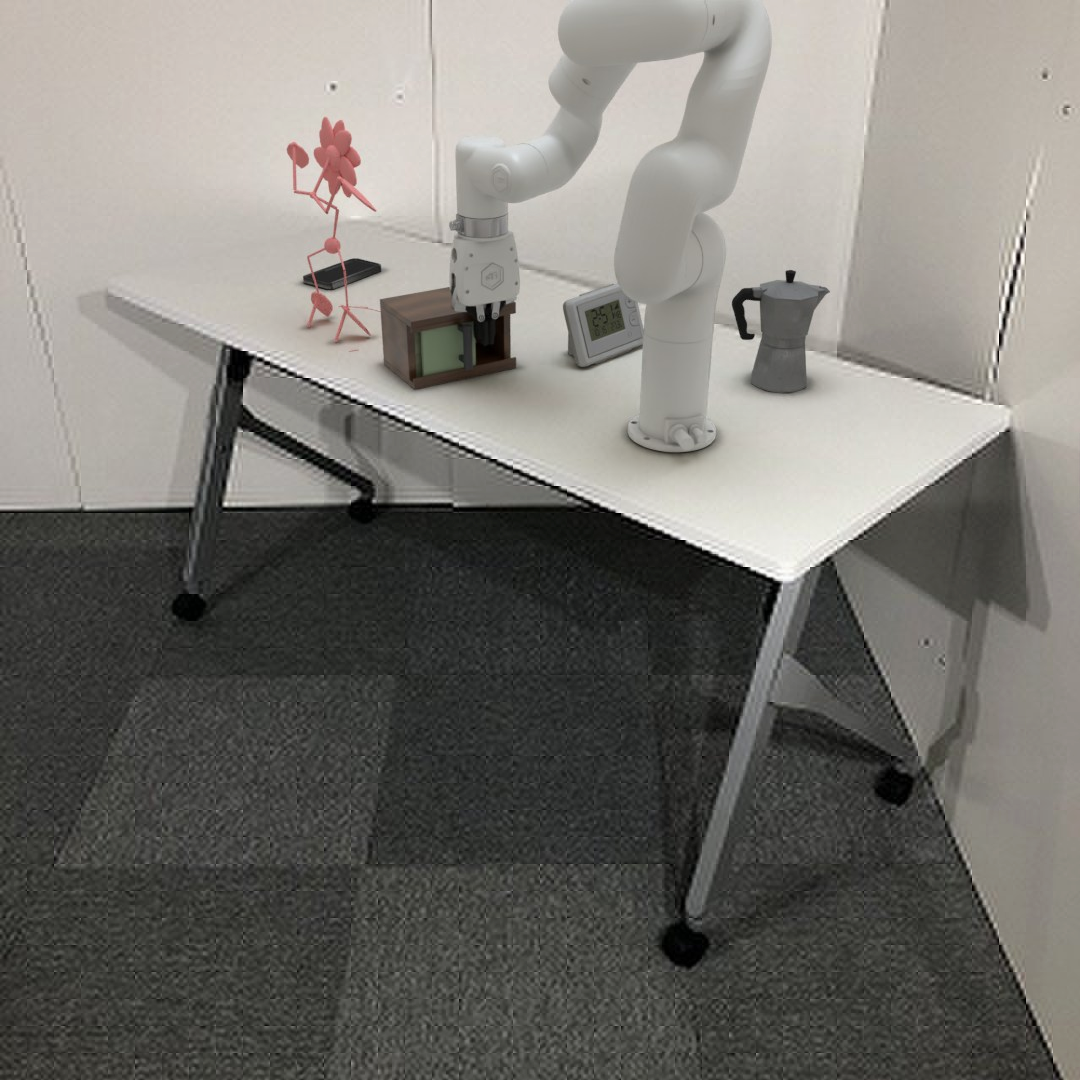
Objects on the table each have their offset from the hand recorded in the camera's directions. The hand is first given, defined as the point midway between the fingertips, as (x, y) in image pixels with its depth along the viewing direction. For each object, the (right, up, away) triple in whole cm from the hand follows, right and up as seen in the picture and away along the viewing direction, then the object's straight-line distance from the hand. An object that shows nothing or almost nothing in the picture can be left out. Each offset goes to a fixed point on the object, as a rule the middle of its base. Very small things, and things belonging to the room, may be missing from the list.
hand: (484, 342), depth 186 cm
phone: (-30, +20, +47) cm, 59 cm away
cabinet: (-6, -2, +8) cm, 11 cm away
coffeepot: (+45, -6, +3) cm, 46 cm away
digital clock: (+19, 0, +13) cm, 23 cm away
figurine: (-24, +6, +23) cm, 34 cm away
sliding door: (-5, -5, +1) cm, 7 cm away
